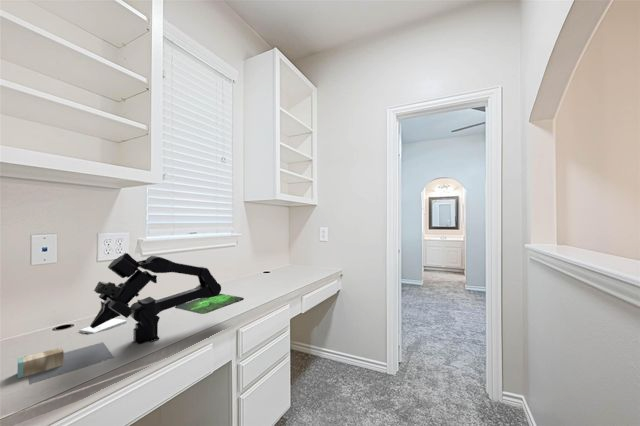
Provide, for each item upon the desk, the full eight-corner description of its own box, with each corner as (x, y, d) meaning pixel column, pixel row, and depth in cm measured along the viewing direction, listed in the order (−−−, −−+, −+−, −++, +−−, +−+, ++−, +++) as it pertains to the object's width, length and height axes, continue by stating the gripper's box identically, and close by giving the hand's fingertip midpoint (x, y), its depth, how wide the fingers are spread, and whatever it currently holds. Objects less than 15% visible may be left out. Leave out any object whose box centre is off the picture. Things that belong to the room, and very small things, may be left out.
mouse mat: (203, 315, 124) (203, 313, 124) (172, 308, 133) (172, 306, 133) (245, 299, 148) (245, 297, 148) (216, 294, 158) (216, 292, 158)
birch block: (61, 347, 83) (17, 358, 76) (63, 351, 80) (17, 363, 73) (61, 360, 83) (17, 373, 76) (63, 365, 80) (17, 378, 73)
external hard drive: (126, 324, 114) (93, 336, 102) (112, 321, 116) (79, 333, 105) (126, 320, 114) (93, 331, 102) (112, 318, 117) (79, 329, 105)
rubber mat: (103, 343, 95) (103, 342, 95) (114, 359, 84) (114, 357, 84) (27, 364, 81) (27, 362, 81) (29, 386, 71) (29, 384, 71)
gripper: (107, 268, 97) (63, 307, 89) (120, 275, 85) (72, 321, 76) (132, 286, 103) (94, 324, 94) (148, 296, 90) (106, 340, 82)
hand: (91, 327), depth 86 cm, fingers closed
